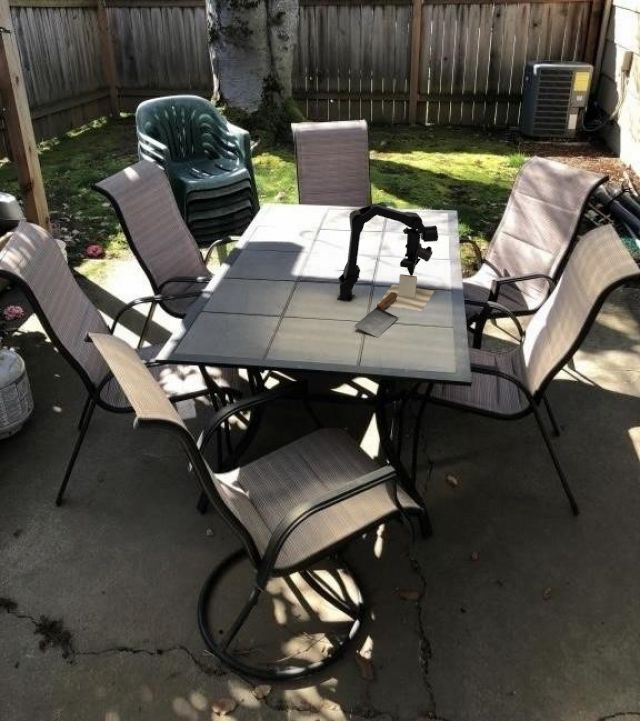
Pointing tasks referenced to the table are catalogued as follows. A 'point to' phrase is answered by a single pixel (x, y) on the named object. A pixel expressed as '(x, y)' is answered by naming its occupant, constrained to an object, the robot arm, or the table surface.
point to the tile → (407, 286)
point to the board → (409, 299)
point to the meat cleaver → (378, 318)
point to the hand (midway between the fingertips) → (411, 275)
